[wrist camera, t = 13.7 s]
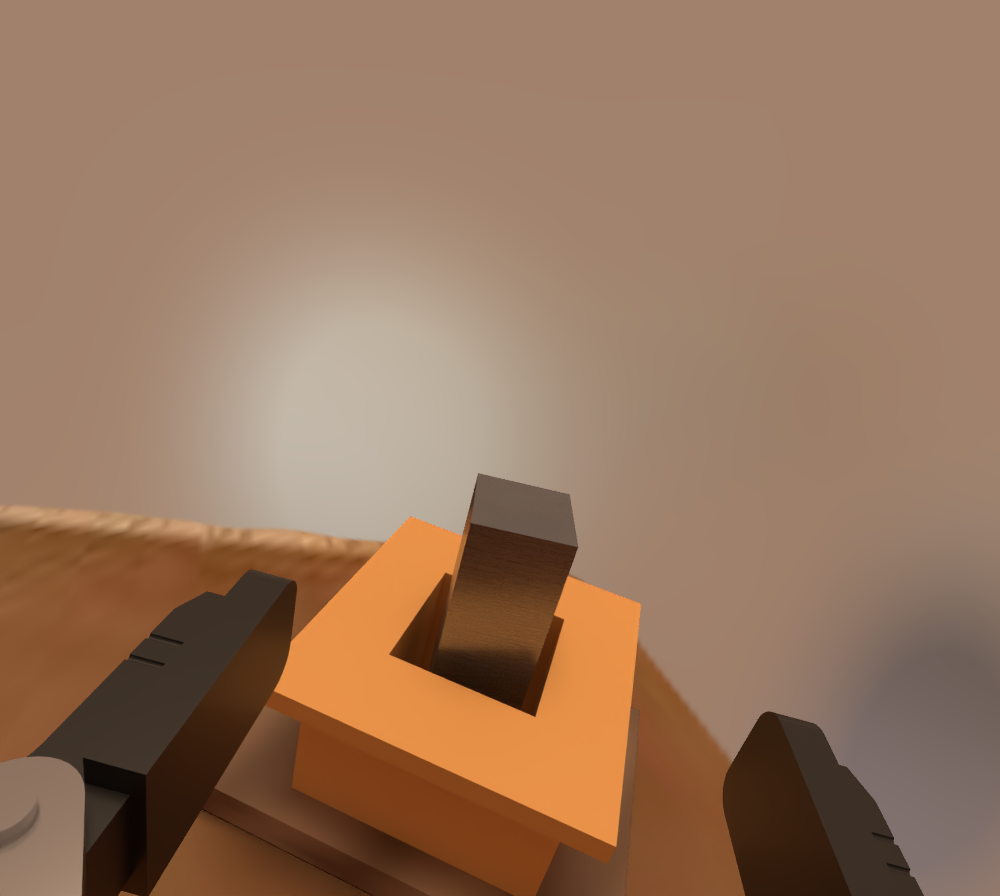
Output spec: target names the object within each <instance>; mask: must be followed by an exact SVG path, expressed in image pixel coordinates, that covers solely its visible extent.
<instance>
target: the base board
mask: <svg viewBox="0 0 1000 896" xmlns="http://www.w3.org/2000/svg"><path fill="white" fill-rule="evenodd" d="M639 717H640V710H637V709H635V708H632V707H631V708H630V718H629V728H628V738H627V747H626V757H625V767H624V777H623V786H622V796H621V806H620V816H619V826H618V835H617V845H616V849H615V851H614V853H613V854H612V856H611V858H610V860H609V862H608V864H607V863H604V862H602V861H600V860H598V859H596V858H594V857H591V856H589V855H587V854H585V853H583V852H581V851H578V850H576V849H574V848H572V847H570V846H568V845H565V844H563V843H561V842H560V843H559V845H558V847H557V850H556V852H555V854H554V856H553V858H552V861H551V863H550V865H549V867H548V869H547V872H546V874H545V876H544V878H543V881H542V883H541V885H540V887H539V889H538V892H537V894H536V896H625V888H626V876H627V864H628V852H629V839H630V827H631V815H632V803H633V790H634V778H635V766H636V754H637V742H638V729H639ZM300 724H301V722H299V721H297V720H295V719H293V718H291V717H289V716H286V715H284V714H282V713H280V712H278V711H276V710H273V709H271V708H269V707H267V706H264V708H263V709H262V711H261V713H260V714H259V716H258V717H257V719H256V721H255V722H254V724H253V726H252V727H251V729H250V731H249V732H248V734H247V736H246V737H245V739H244V740H243V742H242V744H241V745H240V747H239V749H238V750H237V752H236V754H235V755H234V757H233V758H232V760H231V762H230V763H229V765H228V767H227V768H226V770H225V772H224V773H223V775H222V777H221V778H220V780H219V781H218V783H217V785H216V786H215V788H214V790H213V791H212V793H211V795H210V796H209V798H208V800H207V801H206V803H205V804H204V806H203V808H202V809H204V810H206V811H207V812H209V813H211V814H213V815H215V816H217V817H219V818H221V819H223V820H225V821H227V822H229V823H231V824H233V825H235V826H237V827H239V828H241V829H243V830H245V831H247V832H249V833H251V834H253V835H255V836H257V837H259V838H261V839H263V840H265V841H267V842H269V843H271V844H272V845H274V846H276V847H278V848H280V849H282V850H284V851H286V852H288V853H290V854H292V855H294V856H296V857H298V858H300V859H302V860H304V861H306V862H308V863H310V864H312V865H314V866H316V867H318V868H320V869H322V870H324V871H326V872H328V873H330V874H332V875H334V876H336V877H337V878H339V879H341V880H343V881H345V882H347V883H349V884H351V885H353V886H355V887H357V888H359V889H361V890H363V891H365V892H367V893H369V894H371V895H373V896H514V895H512V894H510V893H508V892H506V891H504V890H502V889H499V888H497V887H495V886H493V885H491V884H489V883H487V882H485V881H483V880H481V879H479V878H477V877H475V876H473V875H471V874H469V873H466V872H464V871H462V870H460V869H458V868H456V867H454V866H452V865H450V864H448V863H446V862H444V861H442V860H440V859H438V858H436V857H434V856H431V855H429V854H427V853H425V852H423V851H421V850H419V849H417V848H415V847H413V846H411V845H409V844H407V843H405V842H403V841H401V840H399V839H396V838H394V837H392V836H390V835H388V834H386V833H384V832H382V831H380V830H378V829H376V828H374V827H372V826H370V825H368V824H366V823H364V822H361V821H359V820H357V819H355V818H353V817H351V816H349V815H347V814H345V813H343V812H341V811H339V810H337V809H335V808H333V807H331V806H329V805H326V804H324V803H322V802H320V801H318V800H316V799H314V798H312V797H310V796H308V795H306V794H304V793H302V792H300V791H298V790H296V789H293V788H292V781H293V773H294V766H295V759H296V752H297V745H298V738H299V731H300Z"/></svg>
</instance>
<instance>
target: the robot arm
mask: <svg viewBox="0 0 1000 896" xmlns="http://www.w3.org/2000/svg"><path fill="white" fill-rule="evenodd" d="M296 593H297V585H296V582H295V581H293V580H289V579H286V578H282V577H278V576H274V575H271V574H267V573H263V572H260V571H256V570H249V571H248V572H246V573H245V574H244V575H243V576H242V577H241V578H240V580H239V581H238V582H237V583H236V584H235V585H234V586H233V588H232V589H231V590H230V591H229V592H228V593H227V594H226V595H225V596H222V595H218V594H214V593H211V592H205V593H203V594H202V595H200V596H198V597H196V598H194V599H192V600H190V601H188V602H186V603H185V604H183V605H181V606H179V607H177V608H175V609H174V610H173V611H172V612H171V613H170V614H169V615H168V616H167V617H166V618H165V619H164V620H163V621H162V622H161V623H160V624H159V625H158V626H157V627H156V628H155V629H154V630H153V631H152V632H151V634H150V637H149V638H148V639H147V638H145V639H144V640H143V641H142V642H141V643H140V645H139V646H138V647H137V648H136V649H135V650H134V651H133V652H132V653H131V654H130V657H129V658H128V660H124V661H123V662H122V663H121V664H120V665H119V666H118V667H117V668H116V669H115V670H114V671H113V672H112V673H111V674H110V675H109V676H108V677H107V678H106V679H105V680H104V681H103V682H102V683H101V684H100V685H99V686H98V687H97V688H96V689H95V690H94V691H93V692H92V693H91V695H90V696H89V697H88V698H87V699H86V700H85V701H84V702H83V703H82V704H81V705H80V706H79V707H78V708H77V709H76V710H75V711H74V712H73V713H72V714H71V715H70V716H69V717H68V718H67V719H66V720H65V721H64V722H63V723H62V724H61V725H60V726H59V727H58V728H57V729H56V730H55V731H54V732H53V733H52V734H51V735H50V736H49V737H48V738H47V739H46V740H45V741H44V742H43V743H42V744H41V745H40V746H39V747H38V748H37V749H36V750H35V751H34V752H33V753H31V754H30V755H29V756H27V757H24V758H19V759H13V760H10V761H6V762H3V763H0V896H118V895H119V893H120V892H121V891H124V892H128V893H132V894H135V895H139V896H149V895H150V893H151V891H152V890H153V888H154V886H155V885H156V883H157V882H158V880H159V878H160V877H161V875H162V873H163V872H164V870H165V868H166V867H167V865H168V863H169V862H170V860H171V859H172V857H173V855H174V854H175V852H176V850H177V849H178V847H179V845H180V844H181V842H182V841H183V839H184V837H185V836H186V834H187V832H188V831H189V829H190V827H191V826H192V824H193V822H194V821H195V819H196V818H197V816H198V814H199V813H200V811H201V809H202V808H203V806H204V804H205V803H206V801H207V800H208V798H209V796H210V795H211V793H212V791H213V790H214V788H215V786H216V785H217V783H218V781H219V780H220V778H221V777H222V775H223V773H224V772H225V770H226V768H227V767H228V765H229V763H230V762H231V760H232V758H233V757H234V755H235V754H236V752H237V750H238V749H239V747H240V745H241V744H242V742H243V740H244V739H245V737H246V736H247V734H248V732H249V731H250V729H251V727H252V726H253V724H254V722H255V721H256V719H257V717H258V716H259V714H260V713H261V711H262V709H263V708H264V706H265V704H266V703H267V701H268V699H269V698H270V696H271V695H272V693H273V691H274V690H275V688H276V686H277V684H278V682H279V680H280V678H281V676H282V673H283V671H284V668H285V665H286V662H287V659H288V655H289V650H290V643H291V634H292V626H293V618H294V610H295V601H296ZM723 808H724V813H725V818H726V822H727V825H728V829H729V833H730V837H731V841H732V845H733V849H734V853H735V857H736V861H737V865H738V869H739V872H740V876H741V880H742V884H743V888H744V892H745V896H924V895H923V893H922V891H921V889H920V887H919V885H918V884H917V881H916V879H915V878H914V877H911V876H910V873H909V871H910V868H909V866H908V864H907V862H906V860H905V858H904V856H903V854H902V852H901V850H900V848H899V846H898V845H895V844H894V841H893V840H894V837H893V835H892V833H891V831H890V829H889V827H888V825H887V823H886V821H885V819H884V818H883V815H882V813H881V811H880V809H879V807H878V806H877V804H876V802H875V800H874V799H873V798H872V797H871V796H870V794H869V793H868V792H867V791H866V790H865V789H864V787H863V786H862V785H861V784H860V782H859V781H858V780H857V779H856V778H855V777H854V775H853V774H852V773H851V772H850V770H849V769H848V768H847V767H844V766H841V765H839V764H838V762H837V760H836V758H835V756H834V754H833V752H832V750H831V747H830V745H829V743H828V741H827V739H826V737H825V735H824V733H823V732H822V730H821V729H820V728H819V727H818V726H817V725H816V724H814V723H810V722H807V721H803V720H799V719H795V718H791V717H788V716H784V715H780V714H777V713H774V712H765V713H763V714H762V715H761V716H760V717H759V719H758V721H757V722H756V724H755V725H754V727H753V729H752V731H751V732H750V734H749V735H748V737H747V739H746V741H745V742H744V744H743V746H742V747H741V749H740V751H739V752H738V754H737V756H736V757H735V759H734V761H733V763H732V764H731V766H730V768H729V769H728V771H727V774H726V777H725V781H724V786H723Z"/></svg>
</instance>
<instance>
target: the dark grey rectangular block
mask: <svg viewBox="0 0 1000 896" xmlns="http://www.w3.org/2000/svg"><path fill="white" fill-rule="evenodd" d="M577 549H578V544H577V538H576V531H575V525H574V519H573V513H572V507H571V500H570V495H569V494H565V493H560V492H556V491H552V490H548V489H543V488H539V487H535V486H530V485H526V484H522V483H518V482H513V481H509V480H505V479H500V478H496V477H492V476H487V475H483V474H478V477H477V480H476V484H475V488H474V492H473V496H472V500H471V504H470V508H469V512H468V516H467V520H466V523H465V527H464V531H463V535H462V539H461V543H460V547H459V551H458V555H457V559H456V563H455V567H454V571H453V575H452V578H451V582H450V586H449V590H448V594H447V598H446V602H445V606H444V610H443V614H442V618H441V622H440V626H439V630H438V633H437V637H436V641H435V645H434V649H433V653H432V657H431V661H430V665H429V669H428V671H429V672H431V673H433V674H436V675H438V676H440V677H443V678H445V679H447V680H450V681H452V682H454V683H457V684H459V685H461V686H464V687H466V688H468V689H471V690H473V691H475V692H478V693H480V694H482V695H485V696H487V697H489V698H492V699H494V700H496V701H499V702H501V703H503V704H506V705H508V706H511V707H513V708H515V709H518V710H520V709H521V707H522V704H523V701H524V698H525V695H526V692H527V690H528V687H529V684H530V681H531V678H532V676H533V673H534V670H535V667H536V664H537V661H538V659H539V656H540V653H541V650H542V647H543V645H544V642H545V639H546V636H547V633H548V630H549V628H550V625H551V622H552V619H553V616H554V614H555V611H556V608H557V605H558V602H559V599H560V597H561V594H562V591H563V588H564V585H565V583H566V580H567V577H568V574H569V571H570V568H571V566H572V563H573V560H574V557H575V554H576V551H577Z"/></svg>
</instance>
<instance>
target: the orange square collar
mask: <svg viewBox="0 0 1000 896" xmlns="http://www.w3.org/2000/svg"><path fill="white" fill-rule="evenodd" d="M461 539H462V536H461V535H458V534H455V533H453V532H450V531H448V530H445V529H442V528H440V527H437V526H435V525H432V524H429V523H427V522H424V521H421V520H419V519H416V518H413V517H410V518H408V520H407V521H406V522H405V523H404V524H403V525H402V526H401V527H400V528H399V529H398V530H397V531H396V532H395V533H394V534H393V535H392V536H391V538H389V540H388V541H387V542H386V543H385V544H384V545H383V546H382V547H381V548H380V549H379V550H378V551H377V552H376V553H375V554H374V555H373V556H372V557H371V558H370V560H369V561H368V562H367V563H366V564H365V565H364V566H363V567H362V568H361V569H360V570H359V571H358V572H357V573H356V574H355V575H354V576H353V577H352V578H351V579H350V581H349V582H348V583H347V584H346V585H345V586H344V587H343V588H342V589H341V590H340V591H339V592H338V593H337V594H336V595H335V596H334V597H333V598H332V599H331V601H330V602H329V603H328V604H327V605H326V606H325V607H324V608H323V609H322V610H321V611H320V612H319V613H318V614H317V615H316V616H315V617H314V618H313V619H312V620H311V622H310V623H309V624H308V625H307V626H306V627H305V628H304V629H303V630H302V631H301V632H300V633H299V634H298V635H297V636H296V637H295V638H294V639H293V640H292V642H291V643H290V650H289V655H288V659H287V662H286V665H285V668H284V671H283V673H282V676H281V678H280V680H279V682H278V684H277V686H276V688H275V690H274V691H273V693H272V695H271V696H270V698H269V699H268V701H267V703H266V704H265V706H267V707H269V708H271V709H273V710H276V711H278V712H280V713H282V714H284V715H286V716H289V717H291V718H293V719H295V720H297V721H299V722H301V724H300V731H299V738H298V745H297V752H296V759H295V766H294V773H293V781H292V788H293V789H296V790H298V791H300V792H302V793H304V794H306V795H308V796H310V797H312V798H314V799H316V800H318V801H320V802H322V803H324V804H326V805H329V806H331V807H333V808H335V809H337V810H339V811H341V812H343V813H345V814H347V815H349V816H351V817H353V818H355V819H357V820H359V821H361V822H364V823H366V824H368V825H370V826H372V827H374V828H376V829H378V830H380V831H382V832H384V833H386V834H388V835H390V836H392V837H394V838H396V839H399V840H401V841H403V842H405V843H407V844H409V845H411V846H413V847H415V848H417V849H419V850H421V851H423V852H425V853H427V854H429V855H431V856H434V857H436V858H438V859H440V860H442V861H444V862H446V863H448V864H450V865H452V866H454V867H456V868H458V869H460V870H462V871H464V872H466V873H469V874H471V875H473V876H475V877H477V878H479V879H481V880H483V881H485V882H487V883H489V884H491V885H493V886H495V887H497V888H499V889H502V890H504V891H506V892H508V893H510V894H512V895H514V896H536V894H537V892H538V889H539V887H540V885H541V883H542V881H543V878H544V876H545V874H546V872H547V869H548V867H549V865H550V863H551V861H552V858H553V856H554V854H555V852H556V850H557V847H558V845H559V843H560V842H561V843H563V844H565V845H568V846H570V847H572V848H574V849H576V850H578V851H581V852H583V853H585V854H587V855H589V856H591V857H594V858H596V859H598V860H600V861H602V862H604V863H607V864H608V862H609V860H610V858H611V856H612V854H613V853H614V851H615V849H616V845H617V835H618V826H619V816H620V806H621V796H622V786H623V777H624V767H625V757H626V747H627V738H628V728H629V718H630V708H631V698H632V689H633V679H634V669H635V659H636V649H637V640H638V629H639V620H640V609H641V604H640V603H637V602H635V601H632V600H629V599H627V598H624V597H621V596H619V595H616V594H614V593H611V592H608V591H606V590H603V589H600V588H598V587H595V586H592V585H590V584H587V583H585V582H582V581H579V580H577V579H574V578H571V577H569V576H568V577H567V580H566V583H565V585H564V588H563V591H562V594H561V597H560V599H559V602H558V605H557V608H556V611H555V614H554V616H553V619H552V622H551V625H550V628H549V630H548V633H547V636H546V639H545V642H544V645H543V647H542V650H541V653H540V656H539V659H538V661H537V664H536V667H535V670H534V673H533V676H532V678H531V681H530V684H529V687H528V690H527V692H526V695H525V698H524V701H523V704H522V707H521V709H520V710H518V709H515V708H513V707H511V706H508V705H506V704H503V703H501V702H499V701H496V700H494V699H492V698H489V697H487V696H485V695H482V694H480V693H478V692H475V691H473V690H471V689H468V688H466V687H464V686H461V685H459V684H457V683H454V682H452V681H450V680H447V679H445V678H443V677H440V676H438V675H436V674H433V673H431V672H429V671H428V669H429V665H430V661H431V657H432V653H433V649H434V645H435V641H436V637H437V633H438V630H439V626H440V622H441V618H442V614H443V610H444V606H445V602H446V598H447V594H448V590H449V586H450V582H451V578H452V575H453V571H454V567H455V563H456V559H457V555H458V551H459V547H460V543H461Z"/></svg>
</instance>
